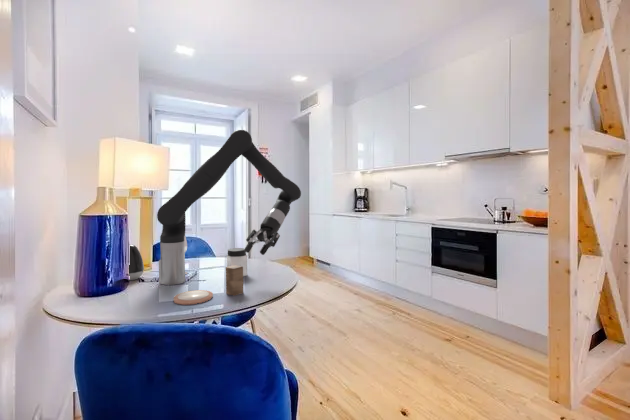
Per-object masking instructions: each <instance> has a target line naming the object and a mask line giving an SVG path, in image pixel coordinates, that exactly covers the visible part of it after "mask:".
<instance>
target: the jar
mask: <svg viewBox="0 0 630 420" xmlns="http://www.w3.org/2000/svg"><path fill="white" fill-rule="evenodd" d="M233 265H237V266H243V278H244V277H246V276H248V255H247V252H246V251H245V247H242V248H241V247H237V248H236V247H235V248H228V249H227V255H226V267H229V266H233Z"/></svg>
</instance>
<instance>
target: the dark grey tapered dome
mask: <svg viewBox="0 0 630 420" xmlns="http://www.w3.org/2000/svg"><path fill="white" fill-rule="evenodd" d="M129 245H130V265H129V276H130V280H129V281H134V280H137V279H139V278H141V276H142V275H143V273H144V270H145V266H144V260H143V257H142V255H141V254H142V253H141V252H140V250H139V248H138V247H137V246H136V245H134V244H129Z"/></svg>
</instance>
